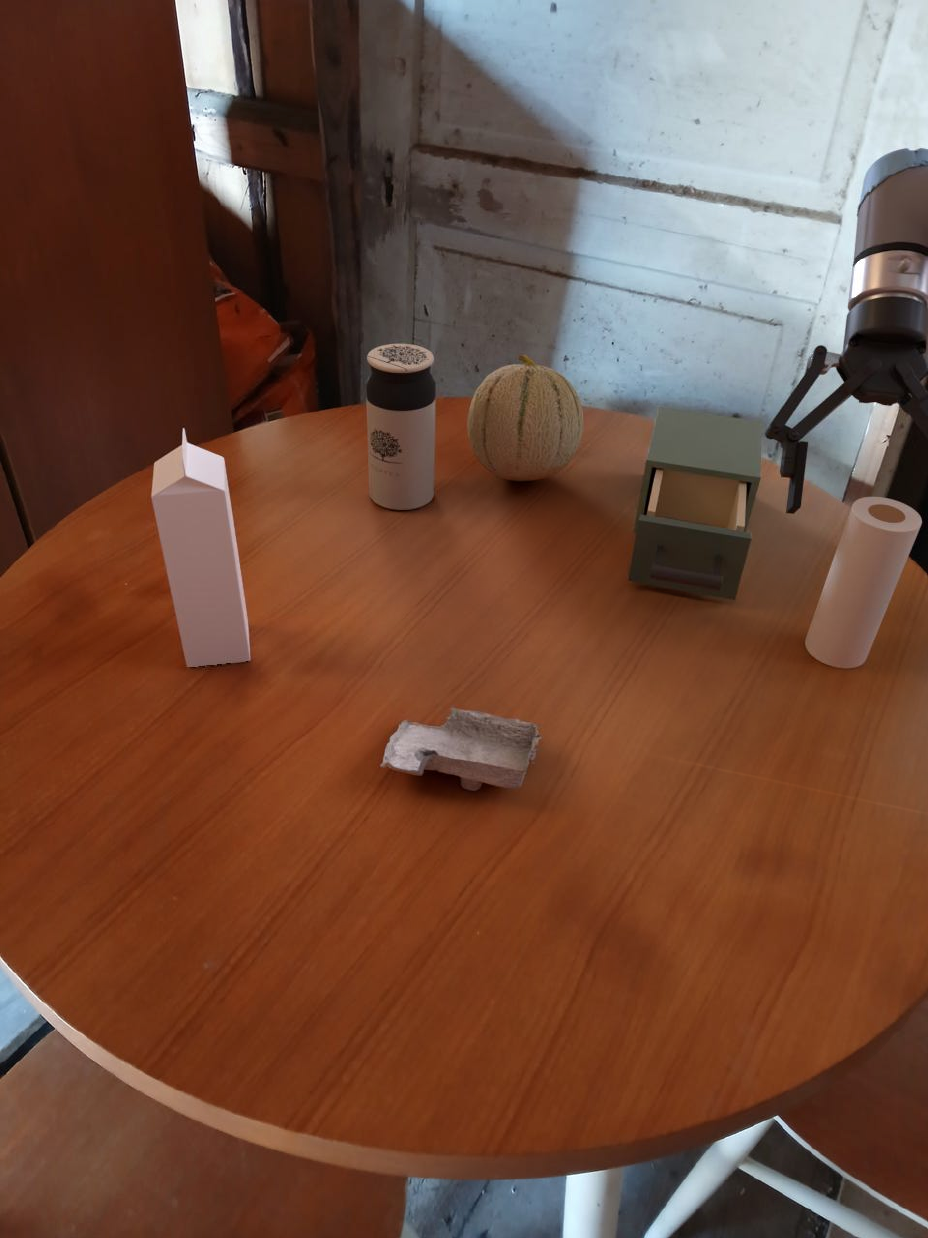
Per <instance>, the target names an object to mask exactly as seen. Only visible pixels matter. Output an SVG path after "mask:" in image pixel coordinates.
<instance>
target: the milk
mask: <svg viewBox="0 0 928 1238" xmlns="http://www.w3.org/2000/svg"><path fill="white" fill-rule="evenodd" d="M181 435H182V436H181V437H182V440H181V445H179V446H178V447H176V448H175V449H173V450H171V451H170V452H168V453H167V454H166V455H164V456H162V457H161V458H159V459H157V460H156V461H154V463H153V471H152V472H153V473H152V484H151V494H150V495H151V496H150V497H151V503H152V509H153V512H154V513H153V514H154V517H155V521H156V527H157V532H158V536H159V541H160V546H161V551H162V555H163V561H164V565H165V570H166V575H167V579H168V585H169V589H170V593H171V598H172V603H173V609H174V614H175V619H176V622H177V623H176V624H177V627H178V633H179V637H180V642H181V647H182V651H183V656H184V661H185V666H186V668H187V667H196V668H199V667H198V666H204V665H205V667H207V666H206V665H214V666H218V665H217V664H222V665H227V664H226V663H231V664H238V663H246V661H248V662H251V647H250V646H251V645H250V643H251V642H250V630H249V618H248V612H247V606H246V597H245V590H244V585H243V577H242V571H241V564H240V563H241V562H240V556H239V550H238V543H237V537H236V529H235V523H234V516H233V510H232V509H233V508H232V501H231V496H230V489H229V482H228V475H227V467H226V461H225V457H223V456H221V455H219V454H217V453H214V452H211V451H209V450H207V449H205V448H202V447H199V446H197V445H194V444H192V443H190V442H188V439H187V435H186V429H185V427H183V428H182V434H181Z"/></svg>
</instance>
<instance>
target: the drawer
mask: <svg viewBox="0 0 928 1238" xmlns="http://www.w3.org/2000/svg"><path fill="white" fill-rule="evenodd" d="M746 487H747V482H745V481H738V480H732V479H726V478H719V477H713V476H706V475H700V474H694V473H687V472H681V471H674V470H668V469H662V468H657V469H656V473H655V478H654V483H653V488H652V492H651V497H650V502H649V507H648V511H647V515H641V514H640V516H639V521H638V526H637V532H635V538H634V543H633V548H632V555H631V560H630V565H629V571H628V577H627V582H630V583H636V584H642V585H648V586H653V587H658V588H664V589H670V590H675V591H680V592H686V593H692V594H698V595H703V596H707V597H714V598H718V599H724V600H730V601H735V600H736V598H737V594H738V590H739V587H740V582H741V579H742V574H743V572H744V568H745V565H746V561H747V557H748V554H749V550H750V546H751V543H752V539H753V536H752V535H753V533H752V532H749V531H746V532H743V531H744V528H745V509H746Z"/></svg>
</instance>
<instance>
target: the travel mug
mask: <svg viewBox="0 0 928 1238" xmlns="http://www.w3.org/2000/svg"><path fill="white" fill-rule="evenodd" d="M366 360H367V362H368V364H369V366H370V373H369V375H368V377H367V379H366V381H365V399H366V400H365V401H366V426H367V456H368V457H367V459H368V484H369V485H368V486H369V489H368V490H369V497H370V499H371V500H372V501H373V502H374V503H375V504H376V505H378V506H381V507H383V508H386V509H390V510H397V511H402V510H403V511H407V510H414V509H418V508H421V507H424V506H425V505H428V504H429V503H430V502H431V501H432V500H433V498H434V497H435V459H436V458H435V457H436V455H435V453H436V442H435V441H436V400H437V399H436V396H437V394H436V393H437V392H436V391H437V388H436V387H437V383H436V381H435V379H434V377H433V375H432V373H431V367H432V365H433V363H434V361H435V356H434V354H433V353H432V352H431V351H430V350H429V349H427V348H425V347H423V346H420V345H417V344H409V343H389V344H383V345H380V346H377V347H374V348H373V349H371V350H370V351H369V352H368V354H367V356H366Z"/></svg>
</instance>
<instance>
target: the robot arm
mask: <svg viewBox="0 0 928 1238" xmlns="http://www.w3.org/2000/svg"><path fill="white" fill-rule="evenodd" d="M856 213H857V214H856V217H857V220H856V229H855V230H856V231H855V239H854V240H855V242H854V251H853V252H854V253H853V262H852V269H851V277H850V286H849V292H848V300H847V310H848V313H847V315H846V317H845V318H846V319H845V326H844V327H845V328H844V334H843V335H844V336H843V346H842V352H841V354H840V353H836V352H832V351H828V349H827V347H826V346H825V345H823V344H820V345H817V346H816V347H815V348H814V349H813V351H812V353H811V354H810V355H809V357H808V358H807V362H806V367H805V370H804V375H803V376H802V378H801V379H800V381H799V382H798V383H797V384H796V386H795V388H794V389H793V390H792V392H791V393H790V395H789V396H788V398H787V399H786V401H785V402H784V404H783V405H782V406H781V407H780V409H779V411H778V412H777V413H776V415H775V417H774V418H773V419H772V420H771V423H770V424H769V425H768V426H767V428H766V429H765V432H764V436H765V437H766V439H768V440H775V441H777V442H778V443H779V444H780V447H781V449H782V450H781V459H780V468H779V474H780V477H781V478H787V479H789V480H788V481H789V482H788V488H787V489H788V491H787V500H786V508H785V514H790V515H794V514H795V513H797V511H799V510H800V509H801V508H802V500H803V494H804V493H803V492H804V484H805V483H804V482H805V476H806V475H805V474H806V465H807V459H808V458H807V456H808V448H809V441H804V440H802V439H803V438H804V437H806V435H808V434H809V433H810V432H811V431H812V430H813V429H814V428H816V427H817V426H818V425H819V424H820V423H822V421H824V420H825V419H827V417H828V416H829V415H831V414H832V413H833V412H834V411H836V409H838V408H839V407H840V406H842V405H843V404H844V403H845V402H846V401H847V400H849V398H850V397H853V398H854V399H855V400H857V401H858V403H859V404H871V403H873V404H874V403H876V404H879V405H881V406H886V407H887V406H888V407H889V406H890V407H892V406H893V405H895V404H898V406H899V407H900V408H901V410H902V411H903V412H904V413H905V414H908V415H909V416H910V418H911V419H912V421H913V422H914V423H915V424H916V426H917V427H918V428H919V430H920V431H921V432H922V434H923V435H924V437H925V438H926V440H928V390H927V389H926V387H925V386H924V385H923V383H922V381H923V380H924V379H925V378H928V359H927V348H928V347H927V346H928V148H924V147H919V148H917V149H915V150H913V149H912V150H910V148H907V147H905V148H899V149H896V150H893V151H890V152H888V153H886V154H884V155H882V156H881V157H879V158H878V159H876V160H875V161H874V162H873V163H872V164H871V165H870V166H869V168H868V169H867V171H866V173H865V175H864V177H863V184H862V189H861V193H860V198H859V203H858V205H857V211H856ZM832 368H835V370H836V372H837V374H838V375H839V377H840V379H841V380H842V381H843V383H841V384H840V385H839V387H837V388H836V389H835V390H833V392H832V393H831V394H830V395H828V396H827V397H826V398H824V400H823V401H822V402H821V403H819V404H818V405H817V406H816V407H815V408H814V409H812V410H811V411H810V412H809V413H808V414H807V415H805V416H804V417H803V418H802V419H801V420H800V421H799V422H797V424H795V425H794V426H793V427H790V426H788V425H786V424H787V422H788V421H789V420H790V419H791V418H792V416H793V414H794V413H795V411H796V410H797V409H798V407H799V405H800V404H801V402H802V401H803V400H804V398H805V397H806V395H807V394H808V392H809V391H810V390H811V388H812V387H813V385H814V384H815V382H816V381H817V379H818V378H819V377H820V376H824V375H826V374H828V373H829V371H830V369H832Z"/></svg>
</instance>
